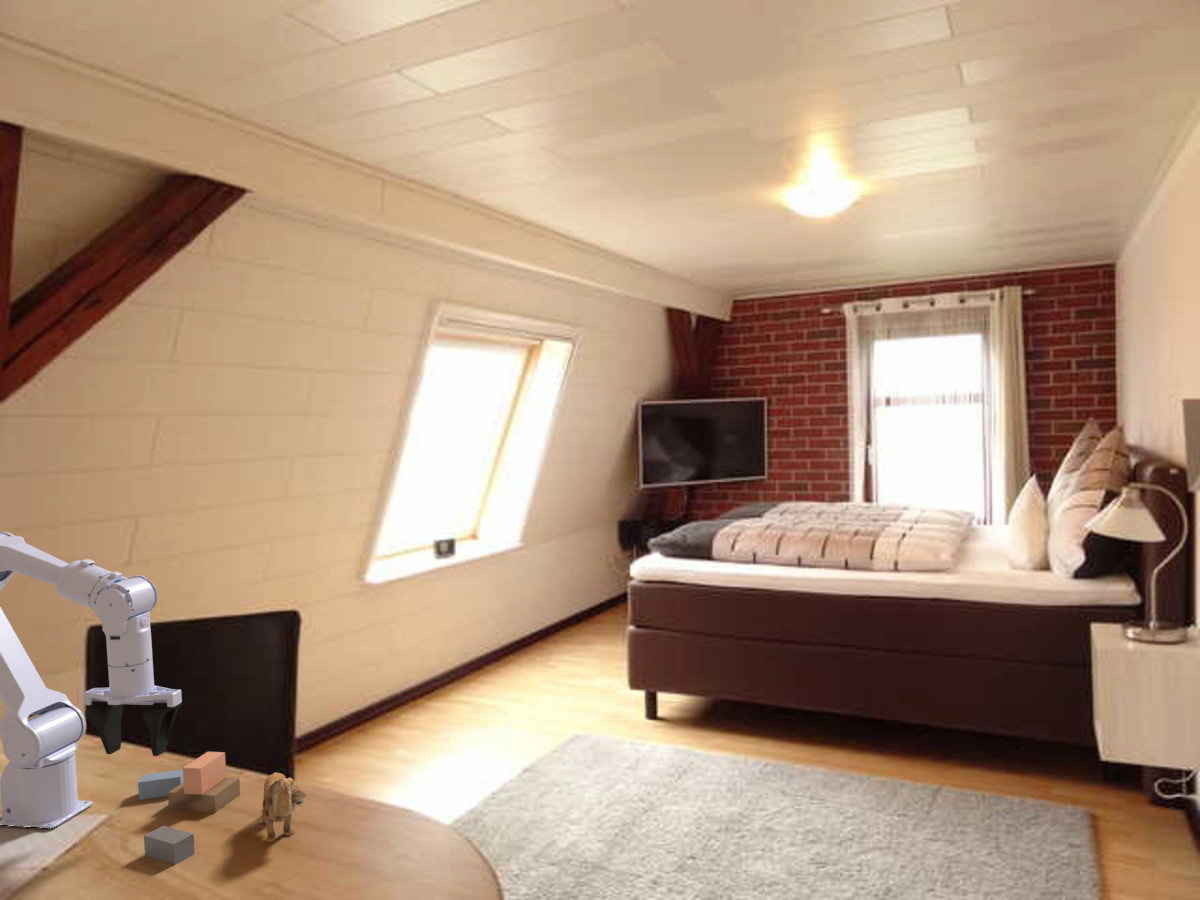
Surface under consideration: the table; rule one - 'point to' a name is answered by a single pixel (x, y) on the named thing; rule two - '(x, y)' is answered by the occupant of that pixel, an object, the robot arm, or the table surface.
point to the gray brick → (169, 845)
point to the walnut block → (205, 797)
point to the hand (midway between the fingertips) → (136, 752)
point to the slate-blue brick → (159, 784)
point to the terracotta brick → (204, 773)
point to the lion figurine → (280, 803)
